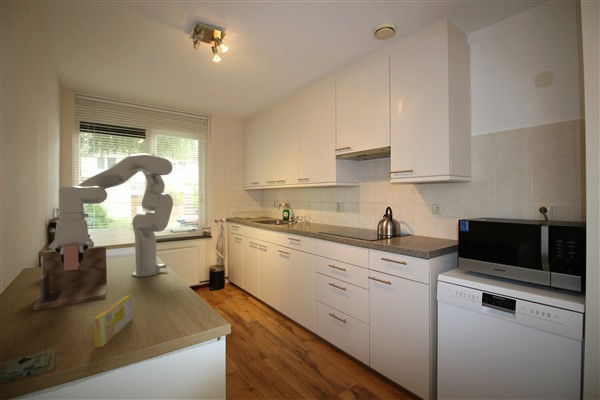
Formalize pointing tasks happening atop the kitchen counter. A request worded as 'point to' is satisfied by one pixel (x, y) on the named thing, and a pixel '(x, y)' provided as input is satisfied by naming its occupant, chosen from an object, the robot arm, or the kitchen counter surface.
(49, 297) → the bookend
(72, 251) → the book
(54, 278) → the shelf
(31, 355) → the kitchen counter surface
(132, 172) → the robot arm
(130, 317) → the candy box
